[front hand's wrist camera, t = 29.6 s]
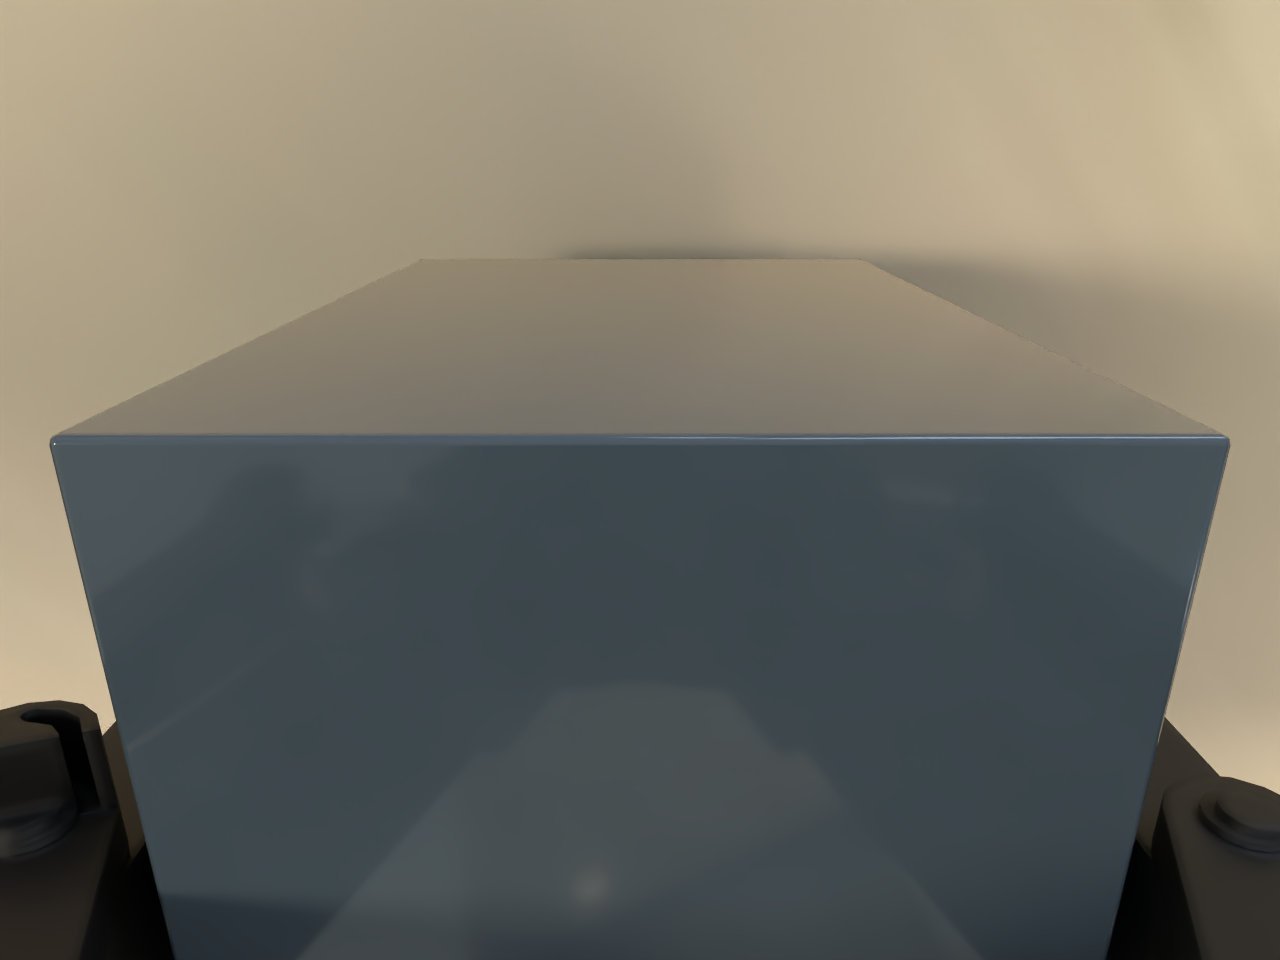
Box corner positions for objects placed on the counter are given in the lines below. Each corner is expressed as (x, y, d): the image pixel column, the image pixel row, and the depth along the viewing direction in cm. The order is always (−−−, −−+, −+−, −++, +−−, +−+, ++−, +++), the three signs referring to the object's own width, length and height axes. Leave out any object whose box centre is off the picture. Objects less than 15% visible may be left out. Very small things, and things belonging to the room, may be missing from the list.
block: (459, 745, 17) (269, 1364, 8) (418, 258, 14) (42, 435, 5) (821, 745, 17) (1010, 1365, 8) (862, 258, 14) (1237, 437, 5)
